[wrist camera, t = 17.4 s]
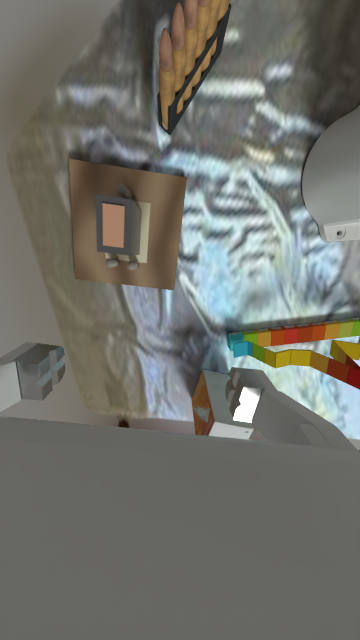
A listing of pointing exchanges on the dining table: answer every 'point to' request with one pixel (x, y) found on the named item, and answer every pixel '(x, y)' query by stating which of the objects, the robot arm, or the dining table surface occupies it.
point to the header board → (156, 224)
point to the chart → (340, 350)
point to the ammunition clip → (188, 55)
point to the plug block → (118, 225)
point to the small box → (216, 409)
